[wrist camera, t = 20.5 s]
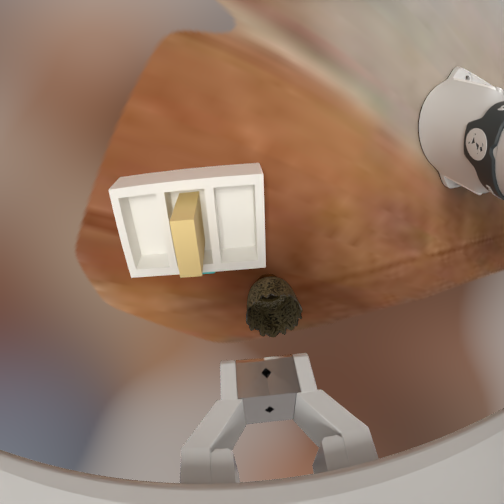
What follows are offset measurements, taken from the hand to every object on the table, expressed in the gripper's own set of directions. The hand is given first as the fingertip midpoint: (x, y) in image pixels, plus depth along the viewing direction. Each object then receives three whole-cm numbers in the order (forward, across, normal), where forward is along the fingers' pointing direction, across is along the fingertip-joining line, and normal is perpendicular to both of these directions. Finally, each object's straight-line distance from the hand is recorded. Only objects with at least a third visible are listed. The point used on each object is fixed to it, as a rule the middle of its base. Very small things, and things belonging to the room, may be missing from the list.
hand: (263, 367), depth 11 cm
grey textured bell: (+31, -4, +20) cm, 37 cm away
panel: (+30, +6, +8) cm, 32 cm away
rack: (+31, +6, +8) cm, 33 cm away
